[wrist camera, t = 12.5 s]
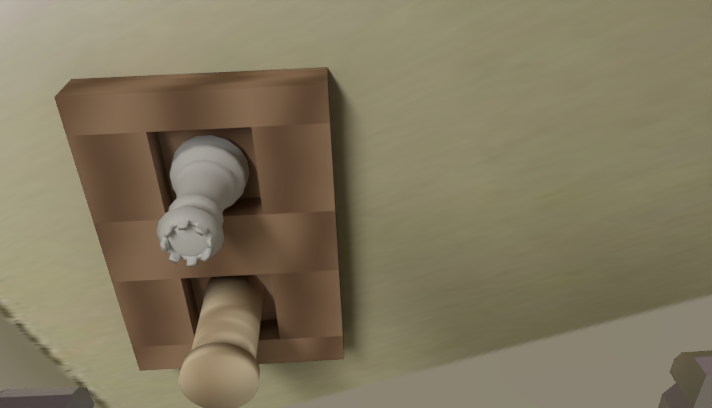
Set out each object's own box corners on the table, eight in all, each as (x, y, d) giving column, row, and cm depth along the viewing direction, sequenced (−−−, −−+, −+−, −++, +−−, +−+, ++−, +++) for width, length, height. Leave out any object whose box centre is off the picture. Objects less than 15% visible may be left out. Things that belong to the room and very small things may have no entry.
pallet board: (327, 67, 34) (328, 136, 27) (343, 333, 45) (346, 434, 38) (71, 79, 34) (2, 152, 27) (148, 344, 45) (114, 447, 38)
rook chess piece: (156, 159, 36) (118, 240, 29) (213, 116, 35) (187, 190, 28) (210, 210, 38) (186, 296, 31) (266, 171, 37) (253, 252, 30)
